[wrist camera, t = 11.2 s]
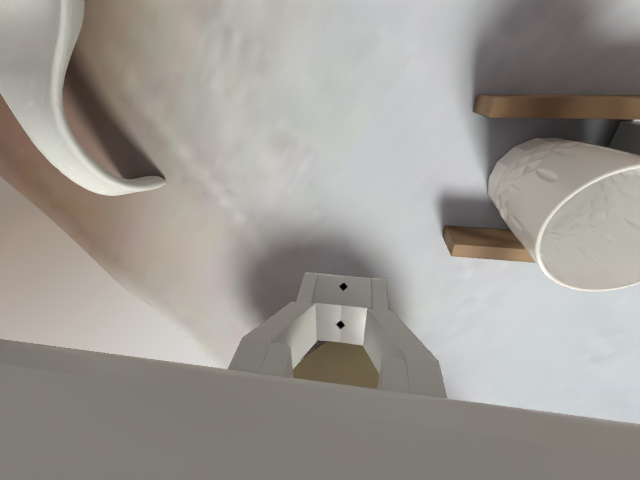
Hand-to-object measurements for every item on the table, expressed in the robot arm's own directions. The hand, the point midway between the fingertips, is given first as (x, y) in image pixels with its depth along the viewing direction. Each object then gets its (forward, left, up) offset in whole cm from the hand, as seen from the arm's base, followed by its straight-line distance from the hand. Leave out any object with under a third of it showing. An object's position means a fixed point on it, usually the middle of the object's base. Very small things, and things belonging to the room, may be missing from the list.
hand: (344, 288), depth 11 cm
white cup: (+1, +14, -18) cm, 23 cm away
